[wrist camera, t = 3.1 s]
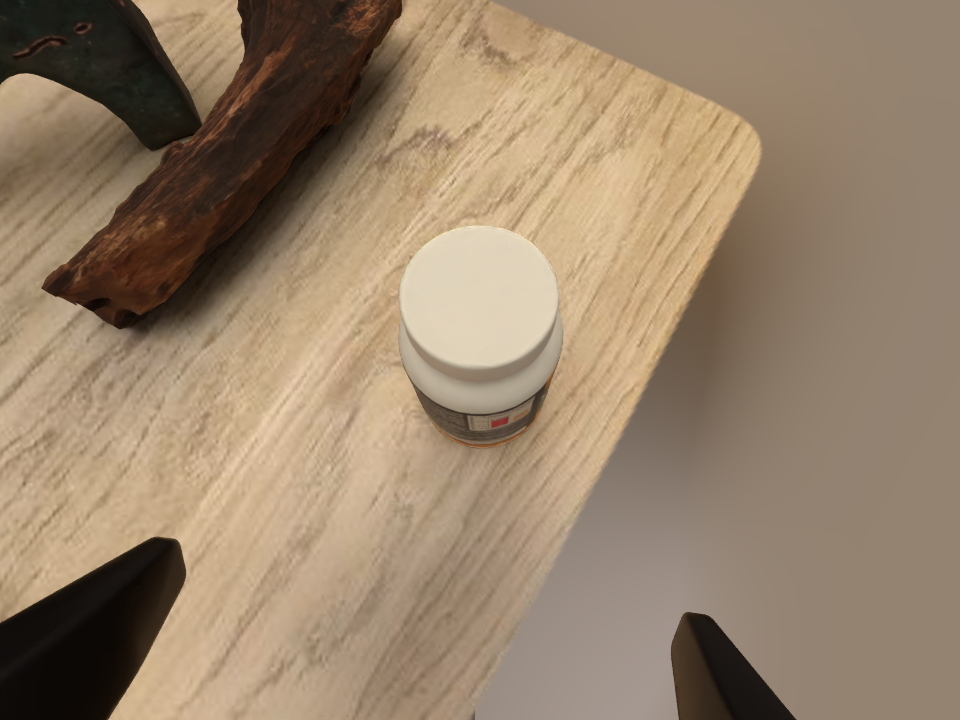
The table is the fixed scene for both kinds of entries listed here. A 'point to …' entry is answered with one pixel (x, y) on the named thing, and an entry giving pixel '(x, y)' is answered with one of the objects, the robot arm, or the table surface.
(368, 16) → the driftwood
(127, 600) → the robot arm
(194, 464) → the table surface
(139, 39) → the ceramic cat
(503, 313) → the pill bottle
